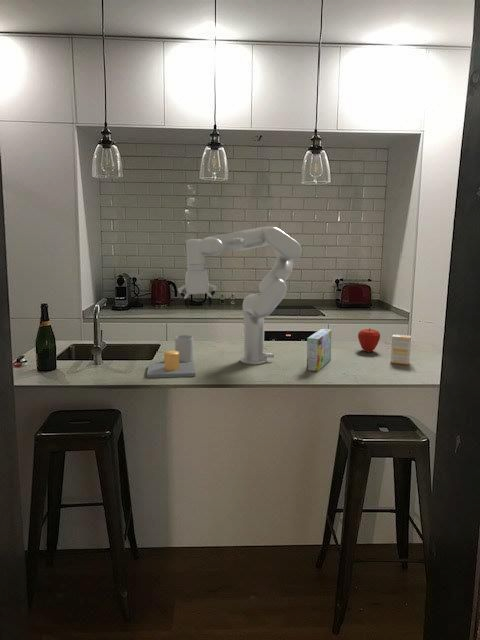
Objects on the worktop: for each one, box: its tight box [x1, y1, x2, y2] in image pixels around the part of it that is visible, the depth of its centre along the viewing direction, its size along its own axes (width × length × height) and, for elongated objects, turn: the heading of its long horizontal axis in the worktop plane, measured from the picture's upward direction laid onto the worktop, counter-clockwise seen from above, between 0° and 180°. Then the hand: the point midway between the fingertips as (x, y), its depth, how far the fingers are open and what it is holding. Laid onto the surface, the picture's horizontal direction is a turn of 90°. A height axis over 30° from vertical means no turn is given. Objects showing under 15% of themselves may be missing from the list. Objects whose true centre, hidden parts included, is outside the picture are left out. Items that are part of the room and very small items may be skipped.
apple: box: [357, 328, 381, 353], centre depth 253 cm, size 11×11×12 cm
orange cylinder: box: [163, 350, 180, 370], centre depth 216 cm, size 6×6×7 cm
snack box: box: [306, 328, 332, 372], centre depth 227 cm, size 21×6×15 cm, turn 154°
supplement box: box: [390, 333, 412, 366], centre depth 232 cm, size 8×5×13 cm, turn 65°
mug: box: [174, 334, 194, 363], centre depth 236 cm, size 12×8×11 cm
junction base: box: [146, 362, 196, 379], centre depth 216 cm, size 20×16×6 cm
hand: (198, 306), depth 220 cm, fingers open, 9 cm apart
